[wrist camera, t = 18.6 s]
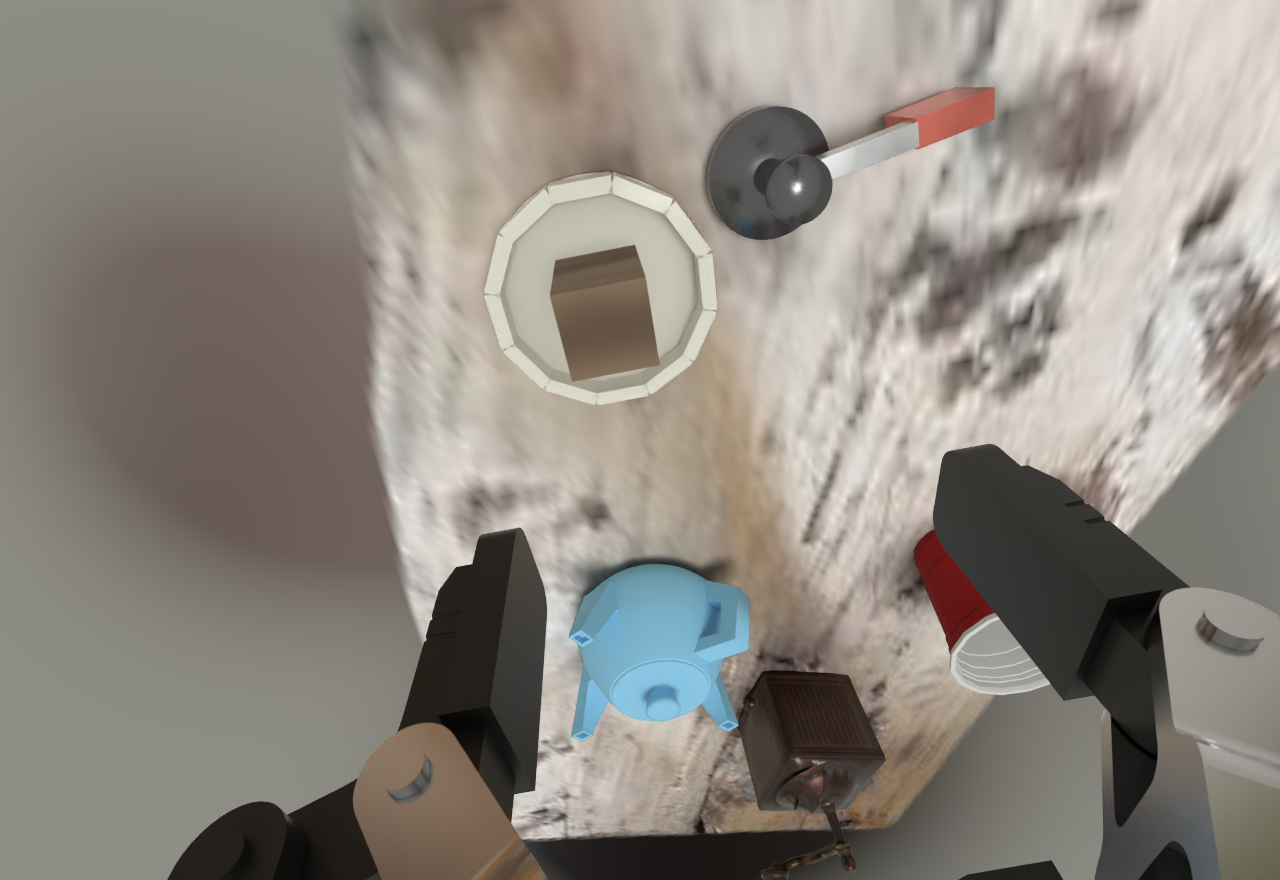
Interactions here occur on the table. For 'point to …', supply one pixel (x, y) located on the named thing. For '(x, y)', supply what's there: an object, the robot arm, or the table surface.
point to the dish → (587, 223)
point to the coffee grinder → (808, 752)
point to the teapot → (657, 645)
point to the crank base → (768, 173)
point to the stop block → (603, 313)
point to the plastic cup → (973, 628)
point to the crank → (915, 128)
